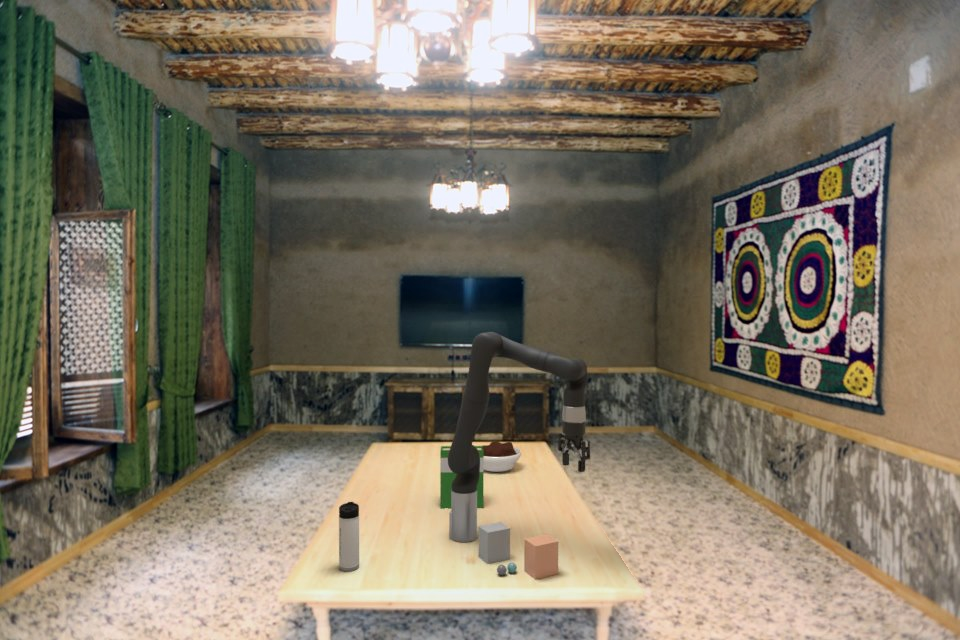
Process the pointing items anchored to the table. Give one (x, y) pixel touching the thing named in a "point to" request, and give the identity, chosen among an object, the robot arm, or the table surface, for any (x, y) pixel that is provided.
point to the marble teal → (511, 567)
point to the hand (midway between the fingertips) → (573, 468)
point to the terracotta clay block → (541, 556)
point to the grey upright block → (494, 542)
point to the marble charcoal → (501, 569)
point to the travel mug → (349, 536)
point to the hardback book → (449, 476)
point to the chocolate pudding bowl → (500, 456)
